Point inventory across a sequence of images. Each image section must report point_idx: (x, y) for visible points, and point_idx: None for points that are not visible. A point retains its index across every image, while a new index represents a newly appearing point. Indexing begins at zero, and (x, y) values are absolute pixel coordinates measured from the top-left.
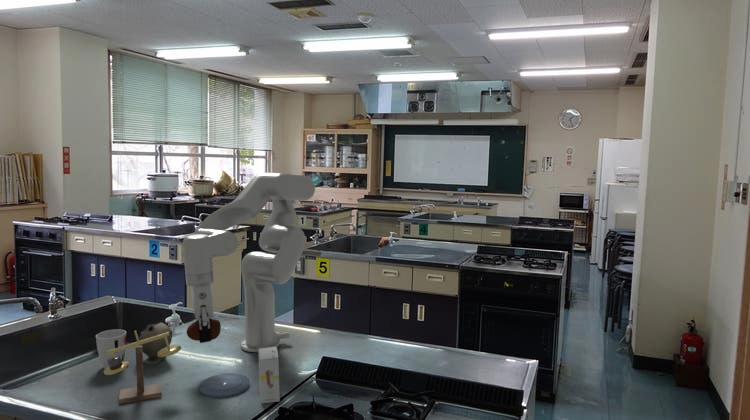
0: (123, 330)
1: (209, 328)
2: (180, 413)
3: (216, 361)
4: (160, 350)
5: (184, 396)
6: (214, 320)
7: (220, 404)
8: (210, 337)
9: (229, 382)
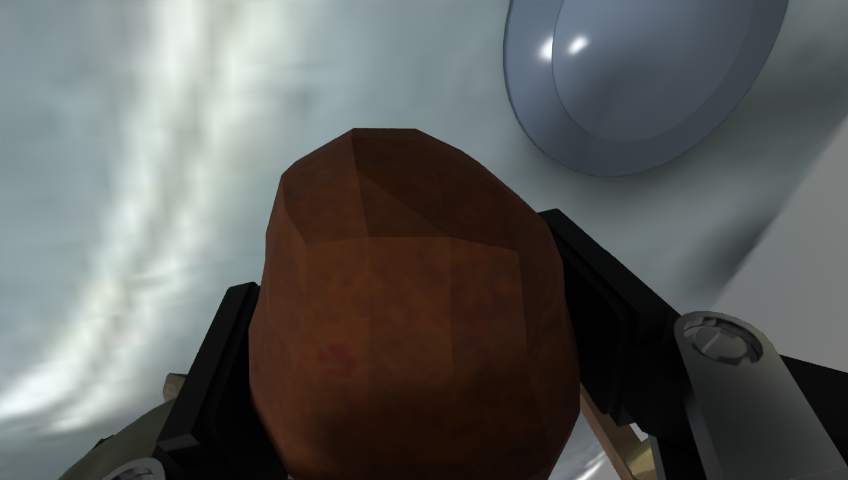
0: None
1: (713, 316)
2: (780, 212)
3: (240, 121)
4: (652, 478)
5: (646, 223)
6: (476, 326)
7: (818, 50)
8: (574, 231)
9: (669, 4)
